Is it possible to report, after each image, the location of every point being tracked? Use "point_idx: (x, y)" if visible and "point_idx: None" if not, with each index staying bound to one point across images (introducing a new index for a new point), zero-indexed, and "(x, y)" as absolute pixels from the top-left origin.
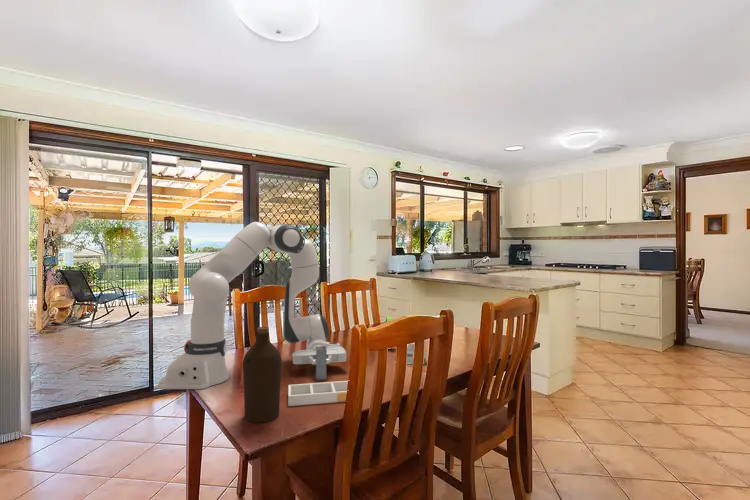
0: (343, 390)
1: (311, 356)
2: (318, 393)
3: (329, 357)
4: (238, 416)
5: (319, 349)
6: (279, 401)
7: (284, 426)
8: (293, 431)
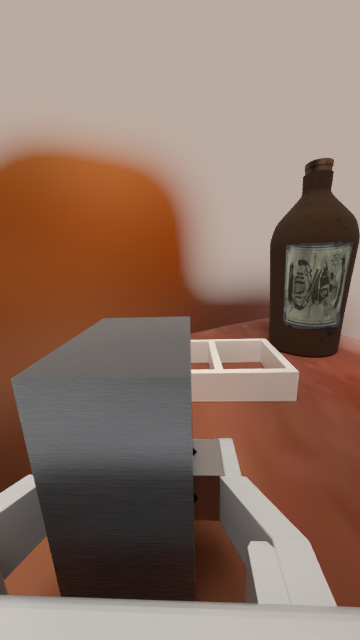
0: None
1: (279, 603)
2: (197, 340)
3: (19, 488)
4: (348, 347)
5: (162, 321)
6: (270, 321)
7: (247, 331)
8: (232, 327)
